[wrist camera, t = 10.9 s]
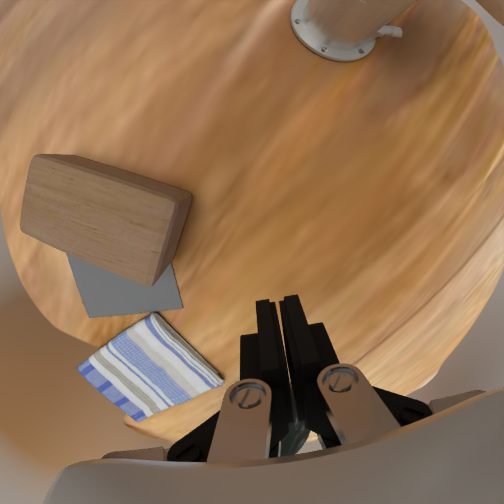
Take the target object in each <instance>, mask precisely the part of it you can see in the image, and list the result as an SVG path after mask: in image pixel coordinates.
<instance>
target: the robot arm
mask: <svg viewBox="0 0 504 504" xmlns="http://www.w3.org/2000/svg"><path fill="white" fill-rule="evenodd" d="M416 1H417V0H297V1H296V2H295V4H294V6H293V7H292V10H291V13H290V22H291V27H292V29H293V31H294V33H295V35H296V36H297V38H298V39H299V40H300V41H301V42H302V43H303V45H305V46H306V47H307V48H308V49H310V50H311V51H312V52H314V53H316V54H318V55H319V56H322V57H324V58H327V59H330V60H334V61H341V62H349V61H355V60H358V59H360V58H362V57H364V56H365V55H367V54H368V53H369V52H370V51H371V50H372V49H373V47H374V45H375V42H376V37H377V36H378V37H383V36H384V35H387V36H390V37H396V38H401V37H402V33H403V32H402V29H401V28H400V27H398V26H392V25H386V24H387V23H389V22H390V21H391V20H392V19H394V18H395V17H396V16H398V15H399V14H400V13H401V12H403V11H404V10H405V9H407V8H408V7H409V6H411V5H412V4H413V3H414V2H416ZM476 1H477V2H478V3H479V4H480V5H481V6H482V7H483V8H484V9H485V10H486V11H487V12H488V13H489V14H490V15H491V16H492V17H493V18H494V19H496V20H497V21H498V22H499V23H500V24H502V25H503V26H504V0H476ZM296 23H297V24H296ZM322 51H324V52H322ZM279 304H280V312H281V319H282V327H283V335H284V343H285V351H286V356H285V351H284V346H283V340H282V335H281V330H280V325H279V320H278V315H277V309H276V304H275V302H269V299H266V300H260V301H256V313H257V326H258V333H255V334H248V335H241V337H240V381H238V382H236V383H234V384H232V385H231V386H230V387H229V388H228V389H227V391H226V393H225V395H224V399H223V402H222V406H221V410H219V411H218V412H217V413H216V414H214V415H213V416H212V417H210V418H209V419H208V420H206V421H205V422H204V423H202V424H201V425H200V426H198V427H197V428H196V429H194V430H193V431H191V432H190V433H189V434H187V435H186V436H184V437H183V438H182V439H180V440H179V441H177V442H176V443H175V444H174V445H172V446H171V448H168V449H164V448H163V447H155V448H148V449H138V450H129V451H116V452H111V453H108V454H106V455H104V456H103V457H102V458H101V459H93V460H88V461H81V462H78V463H74V464H71V465H69V466H67V467H65V468H64V469H63V470H62V471H60V472H59V474H58V475H57V476H56V478H55V479H54V481H53V483H52V485H51V486H50V488H49V490H48V492H47V495H46V497H45V499H44V502H43V504H504V387H500V388H497V389H493V390H490V391H487V392H486V391H482V390H474V391H470V392H466V393H462V394H459V395H454V396H449V397H445V398H440V399H435V400H431V402H430V403H429V404H425V403H423V402H421V401H419V400H415V399H412V398H409V397H405V396H402V395H399V394H395V393H392V392H389V391H386V390H383V389H380V388H377V387H374V386H371V384H370V383H369V381H368V380H367V379H366V377H365V376H364V375H363V373H362V372H361V371H360V370H359V369H358V368H357V367H355V366H353V365H350V364H345V363H344V364H340V363H339V360H338V358H337V355H336V353H335V351H334V348H333V346H332V343H331V341H330V339H329V336H328V334H327V331H326V329H325V327H324V324H323V323H322V322H321V323H316V324H310V325H308V323H307V320H306V317H305V314H304V311H303V308H302V305H301V303H300V300H299V297H298V295H291V296H285V297H284V300H283V301H279ZM286 358H287V361H286ZM287 364H288V368H287ZM288 369H289V374H290V379H291V385H292V390H293V395H294V401H295V406H296V411H297V417H298V422H301V421H304V423H305V428H308V429H309V430H311V431H313V432H315V433H317V436H318V440H319V442H320V444H321V446H322V449H323V450H318V451H313V452H308V453H302V454H296V455H289V456H282V457H280V451H281V442H280V441H281V440H282V439H283V438H284V437H285V436H286V435H287V434H288V433H289V427H288V423H294V420H293V411H292V401H291V392H290V384H289V375H288Z"/></svg>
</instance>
